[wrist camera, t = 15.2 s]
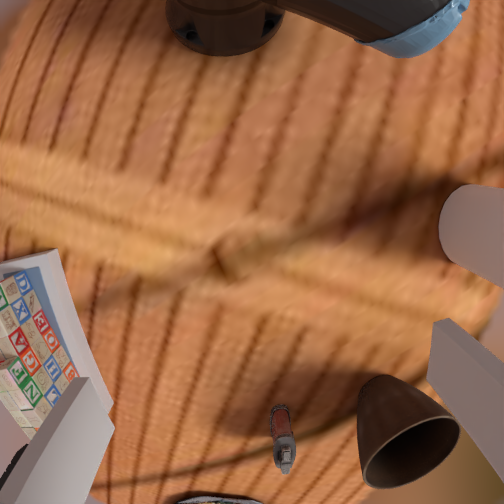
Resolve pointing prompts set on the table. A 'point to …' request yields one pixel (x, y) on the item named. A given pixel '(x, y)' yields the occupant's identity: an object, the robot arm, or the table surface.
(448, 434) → the plant pot
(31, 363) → the stack of blocks
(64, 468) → the robot arm
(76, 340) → the base board
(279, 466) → the lighter
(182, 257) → the table surface
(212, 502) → the food plate
